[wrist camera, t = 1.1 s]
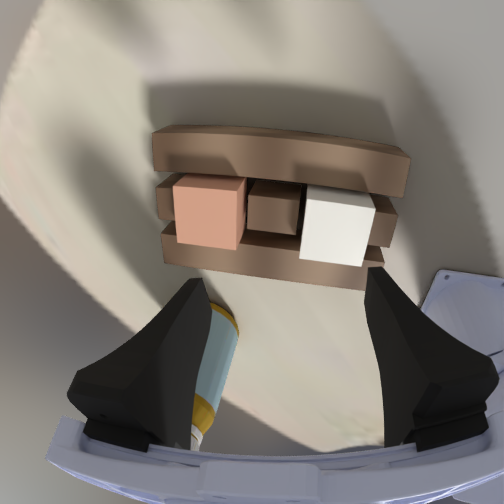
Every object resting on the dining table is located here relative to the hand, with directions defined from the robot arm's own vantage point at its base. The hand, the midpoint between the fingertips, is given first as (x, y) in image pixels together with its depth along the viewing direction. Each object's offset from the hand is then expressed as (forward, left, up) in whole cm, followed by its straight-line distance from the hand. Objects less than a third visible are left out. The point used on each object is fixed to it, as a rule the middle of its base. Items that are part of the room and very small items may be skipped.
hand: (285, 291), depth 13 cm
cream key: (-3, 0, -9) cm, 9 cm away
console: (+1, 0, -10) cm, 11 cm away
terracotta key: (+5, 0, -9) cm, 10 cm away
